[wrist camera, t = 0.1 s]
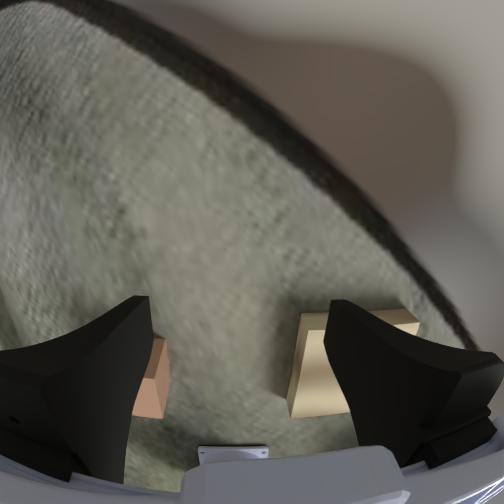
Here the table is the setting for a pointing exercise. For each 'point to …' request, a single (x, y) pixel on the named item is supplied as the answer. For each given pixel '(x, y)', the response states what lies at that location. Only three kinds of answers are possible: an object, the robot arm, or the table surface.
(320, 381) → the base
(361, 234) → the table surface
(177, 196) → the table surface
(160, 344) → the block
